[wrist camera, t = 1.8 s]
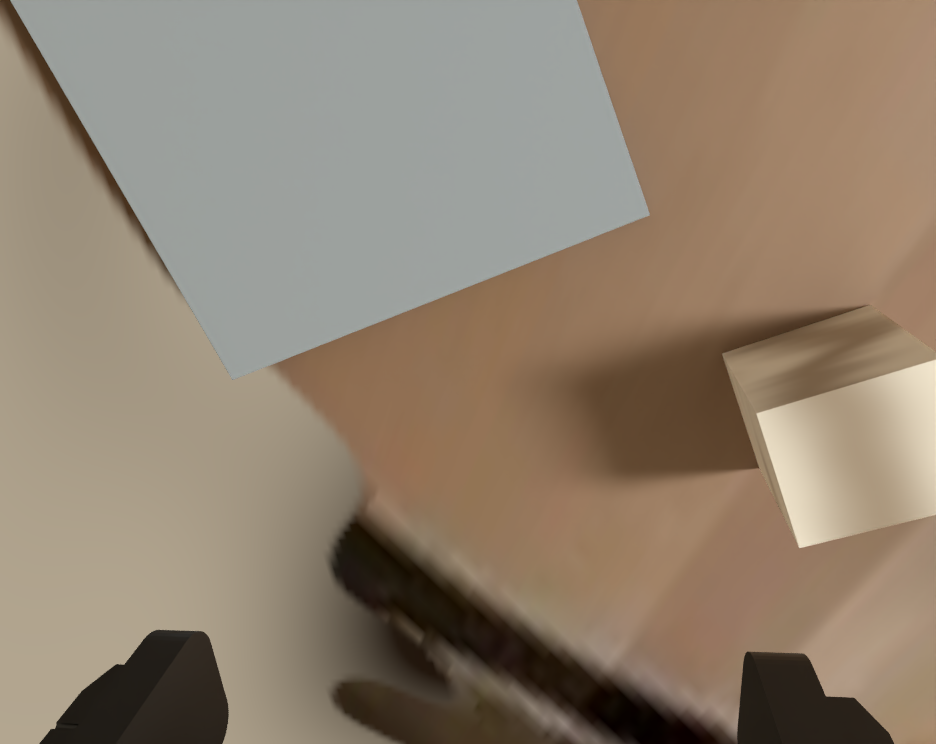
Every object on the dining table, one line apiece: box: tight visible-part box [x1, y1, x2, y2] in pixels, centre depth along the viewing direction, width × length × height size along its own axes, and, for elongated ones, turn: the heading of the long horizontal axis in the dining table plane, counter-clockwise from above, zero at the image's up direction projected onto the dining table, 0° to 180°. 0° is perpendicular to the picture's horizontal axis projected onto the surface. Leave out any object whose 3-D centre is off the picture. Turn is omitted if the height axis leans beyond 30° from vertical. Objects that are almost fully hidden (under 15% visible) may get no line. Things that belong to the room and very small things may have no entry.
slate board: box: [10, 0, 650, 380], centre depth 27 cm, size 20×20×1 cm
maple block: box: [722, 305, 936, 548], centre depth 27 cm, size 6×6×6 cm
